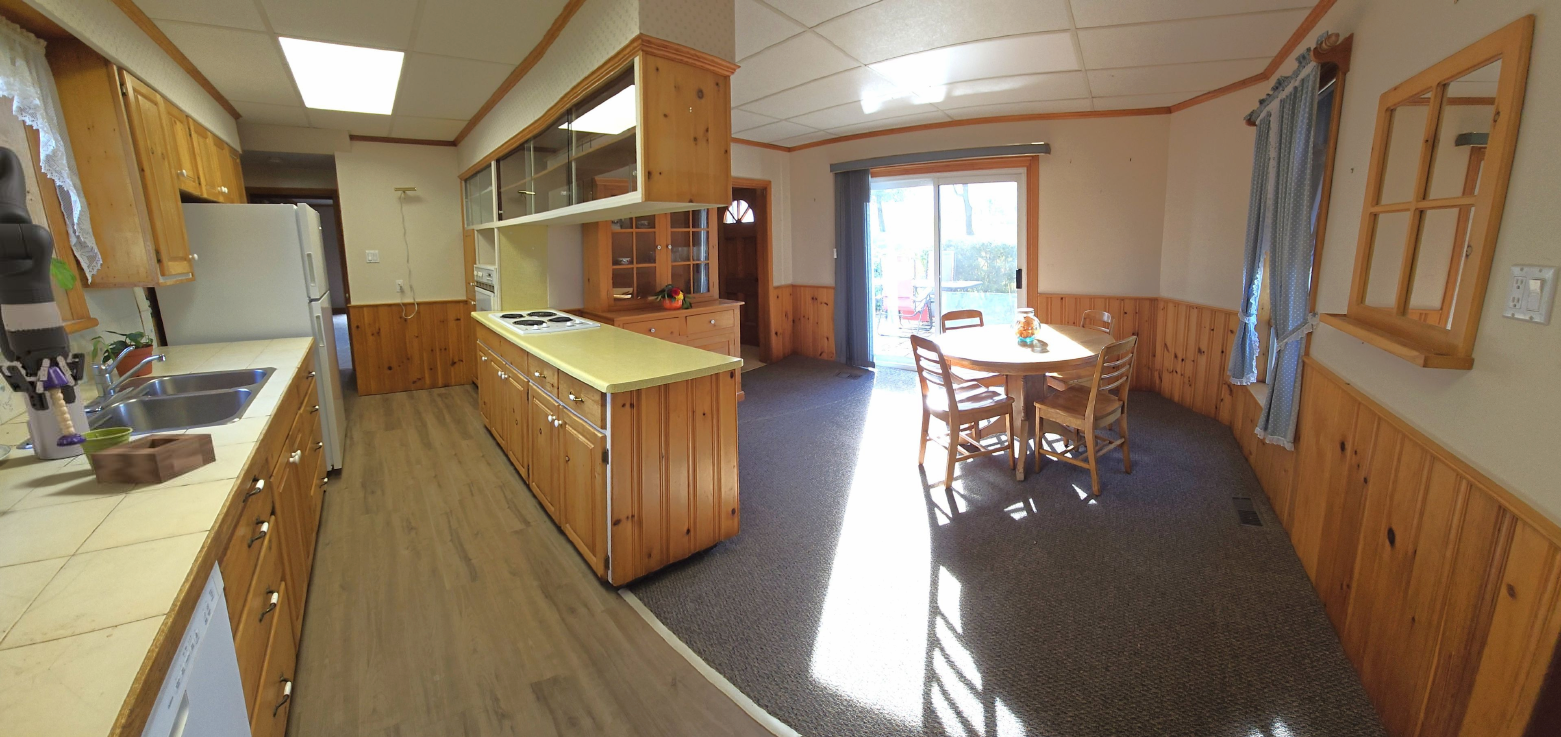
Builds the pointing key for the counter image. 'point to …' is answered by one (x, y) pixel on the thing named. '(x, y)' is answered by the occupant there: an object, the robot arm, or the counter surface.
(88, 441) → the plant pot
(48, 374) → the toy lamp
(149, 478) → the socket block
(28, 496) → the counter surface
